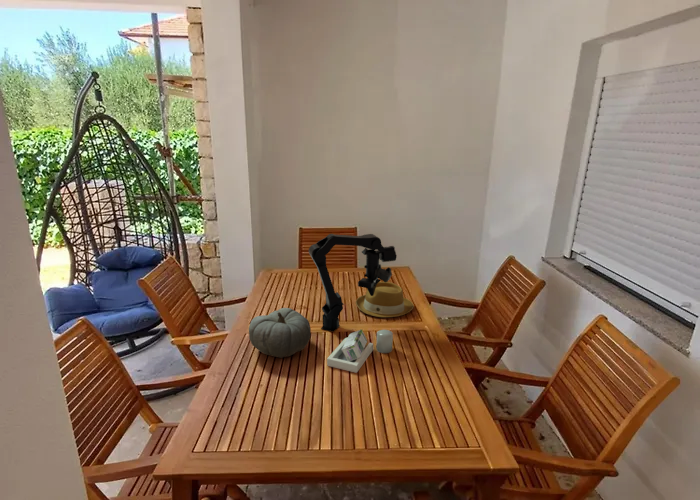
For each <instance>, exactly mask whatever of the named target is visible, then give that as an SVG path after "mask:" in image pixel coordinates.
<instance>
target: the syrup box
mask: <svg viewBox="0 0 700 500" xmlns="http://www.w3.org/2000/svg"><path fill="white" fill-rule="evenodd" d="M346 338H347V340H346V342H345V344H344V346H343V348H342V349H341V350H342V352H343V354H344V356H345V358H346V360H347V361H352V360H355V359H357V358H360V357H361V355H362V352H363V351H364V349H365V348H366V346H367V343H368V339H367V337H366V335H365V333H364V331H363V329H359V330H356V331H353V332H351V333H349V335H348V337H346Z"/></svg>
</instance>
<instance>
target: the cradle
mask: <svg viewBox="0 0 700 500" xmlns="http://www.w3.org/2000/svg"><path fill="white" fill-rule="evenodd" d="M347 338H348V337H345V338H344V339H343V340H342V341H341V342H340V344H339V345H337V347H336V348H334V350H333V351H332V353H331V354H330V355H329V356H328V357H327V358H326V366H328V367H331V368H335V369H340V370H344V371H348V372H352V373H356V374H357V373H358V372H359V370H360V369H361V368H362V366H363V365H364V363H365V362H366V360H367V359H368V358H369V356H370V355H371V354H372V352H373V351H374V343H373V342H368V344H366V346H365V347H364V350H363V352H362V355H361V357H360V358H357V359H355V360H352V361H347V360H346V358H345V356H344V354H343V352H342V350H341V349H342V348H343V346H344V344H345V342H346V340H347Z"/></svg>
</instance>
